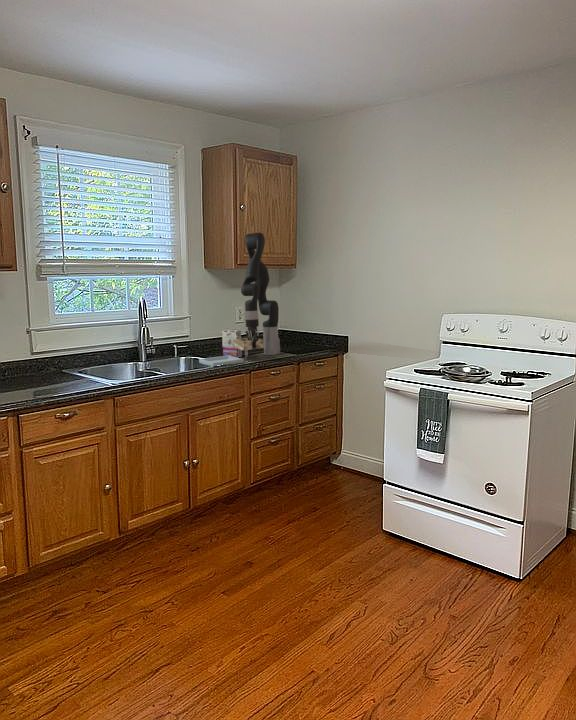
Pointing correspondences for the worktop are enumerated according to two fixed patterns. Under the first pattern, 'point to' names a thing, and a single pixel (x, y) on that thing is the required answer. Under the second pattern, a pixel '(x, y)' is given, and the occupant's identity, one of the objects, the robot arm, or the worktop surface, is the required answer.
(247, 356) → the steel T-stake
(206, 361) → the tray
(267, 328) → the robot arm
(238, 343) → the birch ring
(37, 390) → the worktop surface
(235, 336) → the candy bar box
